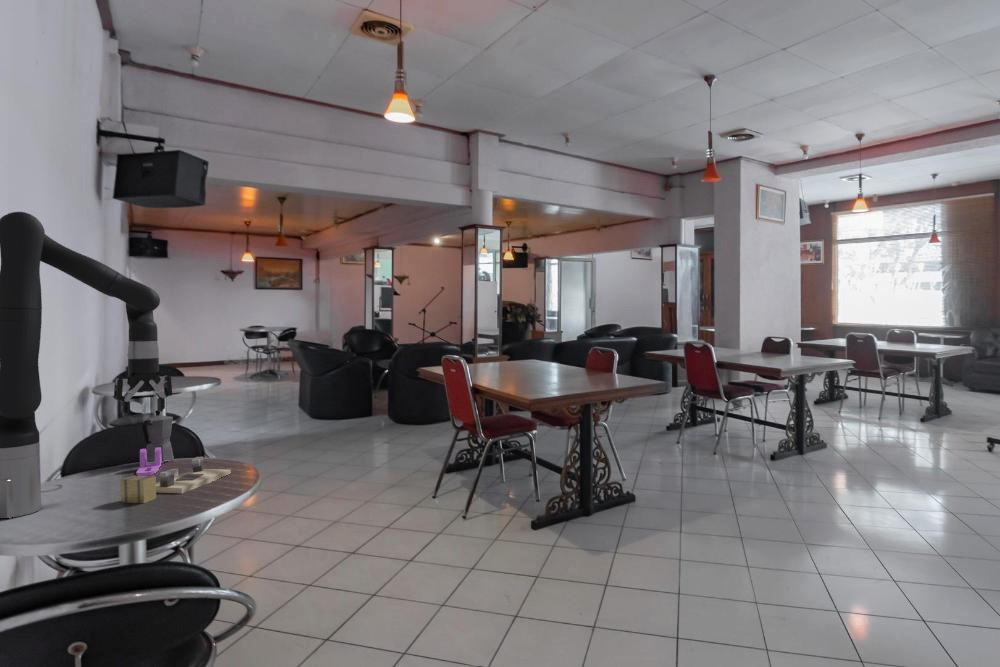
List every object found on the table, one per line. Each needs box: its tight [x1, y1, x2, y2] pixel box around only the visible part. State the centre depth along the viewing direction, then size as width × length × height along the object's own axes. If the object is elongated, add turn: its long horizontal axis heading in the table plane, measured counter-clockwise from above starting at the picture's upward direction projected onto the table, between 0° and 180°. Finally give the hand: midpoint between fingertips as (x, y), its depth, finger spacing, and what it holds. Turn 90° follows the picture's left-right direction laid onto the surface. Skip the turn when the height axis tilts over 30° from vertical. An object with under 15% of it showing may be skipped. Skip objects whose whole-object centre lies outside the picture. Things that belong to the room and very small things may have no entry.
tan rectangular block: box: [120, 475, 157, 504], centre depth 146 cm, size 7×4×6 cm, turn 79°
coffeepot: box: [141, 409, 175, 462], centre depth 190 cm, size 15×9×18 cm, turn 4°
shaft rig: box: [156, 456, 232, 494], centre depth 162 cm, size 20×12×6 cm, turn 169°
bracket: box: [135, 447, 162, 476], centre depth 177 cm, size 13×6×7 cm, turn 25°
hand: (144, 412), depth 159 cm, fingers open, 8 cm apart
